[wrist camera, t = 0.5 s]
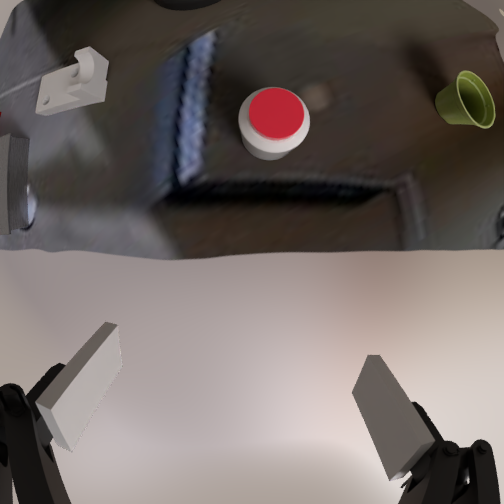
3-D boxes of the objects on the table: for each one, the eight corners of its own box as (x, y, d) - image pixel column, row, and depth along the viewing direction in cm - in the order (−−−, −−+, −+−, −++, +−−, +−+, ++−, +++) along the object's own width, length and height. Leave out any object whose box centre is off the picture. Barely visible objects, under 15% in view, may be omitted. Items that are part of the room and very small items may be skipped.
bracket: (111, 63, 32) (89, 46, 24) (105, 101, 33) (80, 89, 26) (53, 80, 32) (28, 70, 24) (47, 116, 33) (20, 109, 26)
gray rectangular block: (-3, 147, 33) (-22, 146, 27) (31, 136, 34) (10, 133, 28) (-3, 229, 37) (-22, 234, 31) (30, 228, 37) (9, 234, 32)
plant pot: (438, 136, 35) (471, 130, 26) (419, 84, 33) (448, 69, 24) (469, 130, 34) (501, 125, 26) (452, 82, 32) (481, 71, 23)
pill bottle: (250, 167, 36) (250, 158, 25) (233, 115, 34) (227, 88, 24) (304, 152, 36) (325, 139, 25) (287, 101, 34) (301, 71, 23)
